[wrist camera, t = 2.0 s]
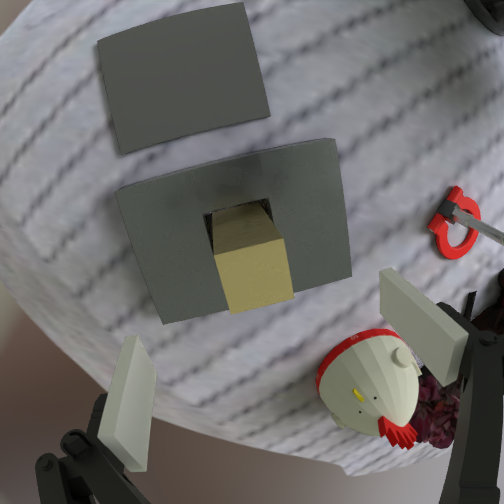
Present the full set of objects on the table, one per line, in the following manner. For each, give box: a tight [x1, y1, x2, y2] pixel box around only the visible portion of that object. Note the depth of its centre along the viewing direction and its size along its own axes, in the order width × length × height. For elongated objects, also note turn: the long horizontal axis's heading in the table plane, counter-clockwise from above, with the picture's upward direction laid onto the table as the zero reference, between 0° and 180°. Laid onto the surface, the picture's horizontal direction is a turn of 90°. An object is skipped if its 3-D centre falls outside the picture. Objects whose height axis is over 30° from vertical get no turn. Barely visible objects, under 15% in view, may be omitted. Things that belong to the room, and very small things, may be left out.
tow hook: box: [427, 186, 504, 259], centre depth 29 cm, size 8×13×9 cm
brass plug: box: [212, 201, 294, 314], centre depth 26 cm, size 4×4×11 cm
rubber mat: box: [97, 2, 271, 155], centre depth 24 cm, size 14×12×1 cm
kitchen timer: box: [316, 329, 422, 450], centre depth 34 cm, size 14×14×15 cm
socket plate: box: [115, 138, 352, 325], centre depth 30 cm, size 20×14×2 cm
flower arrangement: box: [408, 268, 504, 449], centre depth 37 cm, size 31×20×15 cm, turn 140°
